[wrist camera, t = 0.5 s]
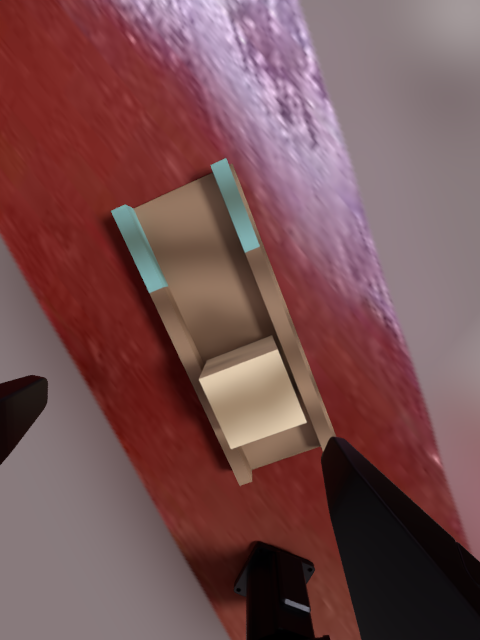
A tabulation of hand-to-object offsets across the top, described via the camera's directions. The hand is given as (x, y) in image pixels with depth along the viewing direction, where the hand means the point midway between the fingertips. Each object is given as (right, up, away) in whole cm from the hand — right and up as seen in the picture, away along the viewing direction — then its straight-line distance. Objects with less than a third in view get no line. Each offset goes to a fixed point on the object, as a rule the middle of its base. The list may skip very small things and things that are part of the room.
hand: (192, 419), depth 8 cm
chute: (+1, +2, +15) cm, 15 cm away
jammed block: (+3, -2, +15) cm, 15 cm away
